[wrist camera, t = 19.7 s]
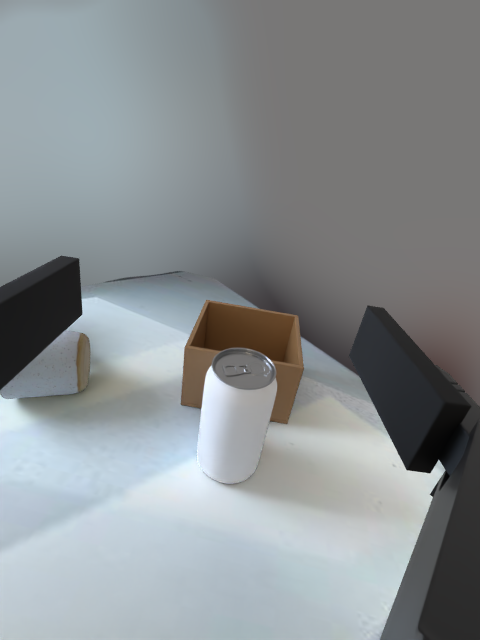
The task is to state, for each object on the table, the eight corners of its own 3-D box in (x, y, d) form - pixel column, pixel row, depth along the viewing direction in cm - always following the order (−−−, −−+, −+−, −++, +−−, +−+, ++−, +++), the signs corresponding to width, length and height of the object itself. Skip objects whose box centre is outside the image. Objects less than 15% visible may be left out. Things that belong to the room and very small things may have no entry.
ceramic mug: (88, 406, 37) (81, 350, 33) (3, 414, 34) (-14, 355, 31) (95, 352, 46) (90, 303, 42) (28, 355, 43) (17, 304, 39)
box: (287, 424, 39) (303, 368, 35) (180, 404, 39) (184, 347, 35) (285, 364, 49) (298, 315, 45) (201, 349, 50) (206, 299, 46)
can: (266, 480, 32) (293, 389, 26) (201, 491, 30) (215, 396, 24) (248, 429, 37) (267, 343, 32) (192, 435, 36) (200, 346, 30)
